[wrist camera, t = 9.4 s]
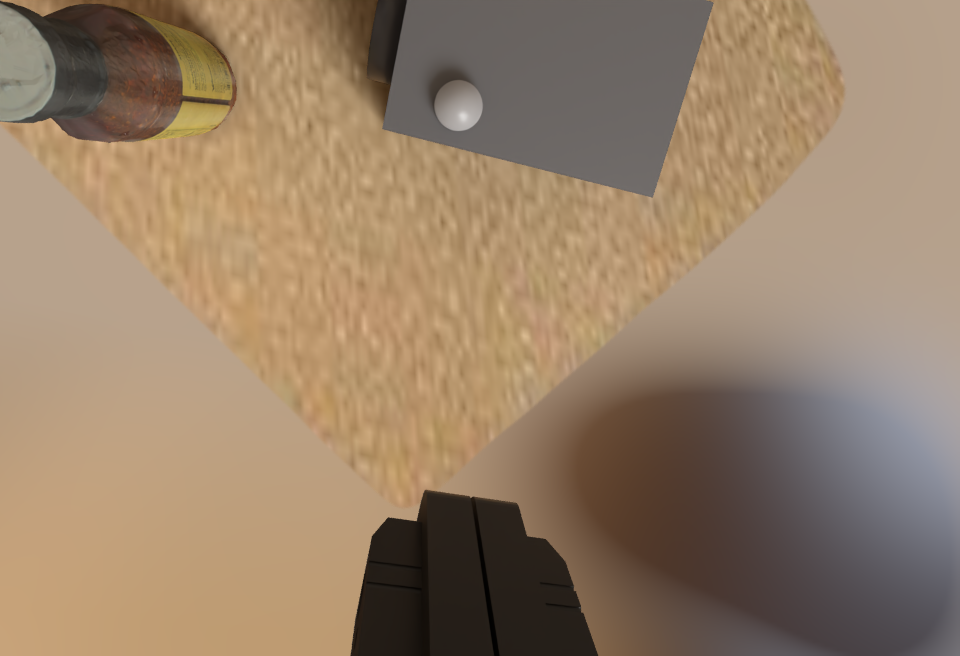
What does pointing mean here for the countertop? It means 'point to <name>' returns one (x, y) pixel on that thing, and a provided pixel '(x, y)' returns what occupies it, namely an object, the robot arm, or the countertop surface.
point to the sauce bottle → (110, 74)
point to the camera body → (542, 80)
